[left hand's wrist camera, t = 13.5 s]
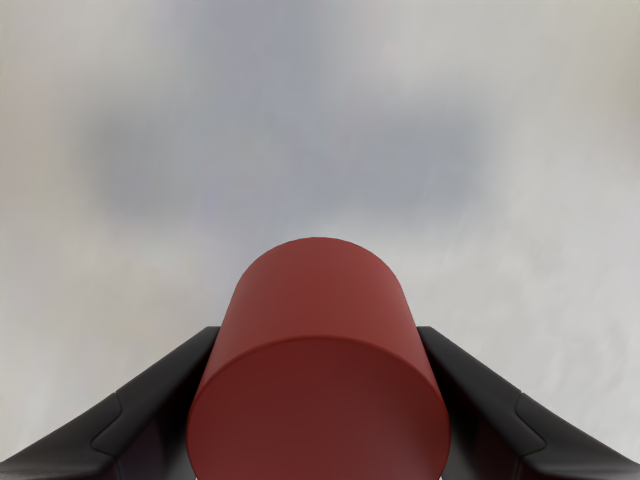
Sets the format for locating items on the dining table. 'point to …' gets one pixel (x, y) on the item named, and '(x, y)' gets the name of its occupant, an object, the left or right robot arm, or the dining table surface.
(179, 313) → the dining table surface
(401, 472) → the can
